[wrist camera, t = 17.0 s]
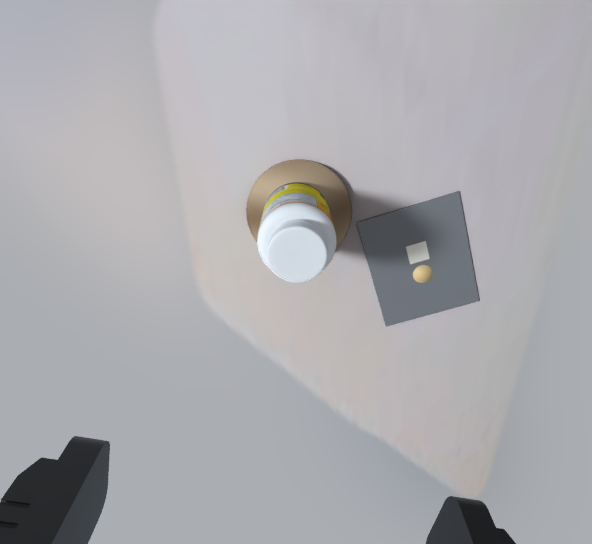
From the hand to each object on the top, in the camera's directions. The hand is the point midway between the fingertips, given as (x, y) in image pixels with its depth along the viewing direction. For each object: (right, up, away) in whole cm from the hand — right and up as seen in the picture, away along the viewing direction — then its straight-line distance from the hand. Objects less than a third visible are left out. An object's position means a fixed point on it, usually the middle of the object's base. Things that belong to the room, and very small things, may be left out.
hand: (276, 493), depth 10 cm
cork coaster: (+1, +10, +28) cm, 30 cm away
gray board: (+12, +6, +30) cm, 33 cm away
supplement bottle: (0, +10, +28) cm, 30 cm away
